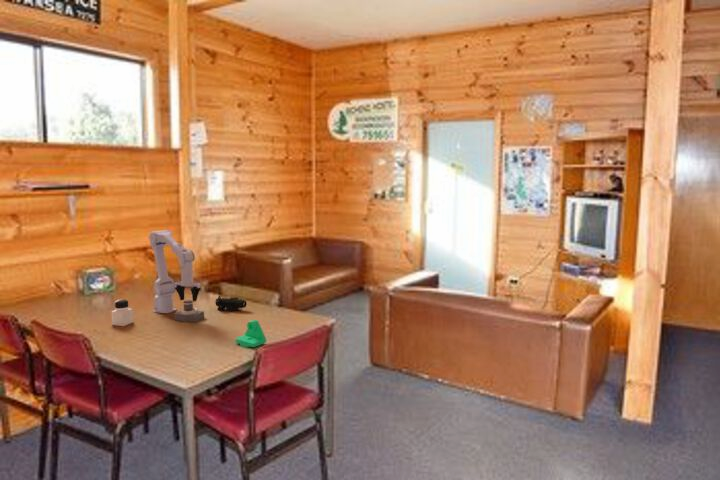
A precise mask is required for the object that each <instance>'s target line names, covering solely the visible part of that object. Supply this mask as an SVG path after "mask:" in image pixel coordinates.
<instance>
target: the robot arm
mask: <svg viewBox="0 0 720 480" xmlns="http://www.w3.org/2000/svg"><path fill="white" fill-rule="evenodd" d="M148 239H149V244H150V247H151V248H152V250H153V255H154V262H155V266H156V272H157V276H158V278H157V279H156V280H155V281H154V282H153V283H154V288H153V291H154V293H155V296H154V297H153V309H154V310H153V313H161V314H170V313H173V312H175V311H178V308H174V297H173V296H174V295H175V293H177V294H178V297H179V300H180V301H183V300H184V301H185V290H186V287H188V288H190V291H191V295H192V301H193V303H194V302H197V300H198V295H199V293H200V290H201V289H202V285H201V283H199V282H194V268H193V267H194V265H193V264H194V263H193V262H194V261H195V253H194V251H193V250H189V249H187V248H186V247H185V246H184V245H182V243H181V242H177V241H176V240H175V239H174V238H173V234H172V232H171V231H170V230H169V229H166V230H165V229H164V230H156V231H154V230H153V231H151V232H150V233H149V236H148ZM165 246H169V247H170V248H171V252H172V253H173V254H174V255H175V256H177V260H178V263H179V267H180V274H181V276H180V278H181V281H174V279H173V278H171V277H170V276H169V272H168V266H167V262H166V257H165V250H164V248H165Z"/></svg>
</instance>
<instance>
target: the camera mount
mask: <svg viewBox="0 0 720 480" xmlns="http://www.w3.org/2000/svg"><path fill="white" fill-rule="evenodd" d="M246 327H247V329H246V331H245V333H244V335H241V336H238V337H235V339H234V341H235V343H236V344H239V346H240V347H244V348H248V349H249V348H254V347H257V346H260V345H263V344H265V343H267V337H266V336H265V333H264V331H263V329H262V326H261V325H260V322H259V320H257V319H253V320H250V321H249V322H247V324H246Z"/></svg>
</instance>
